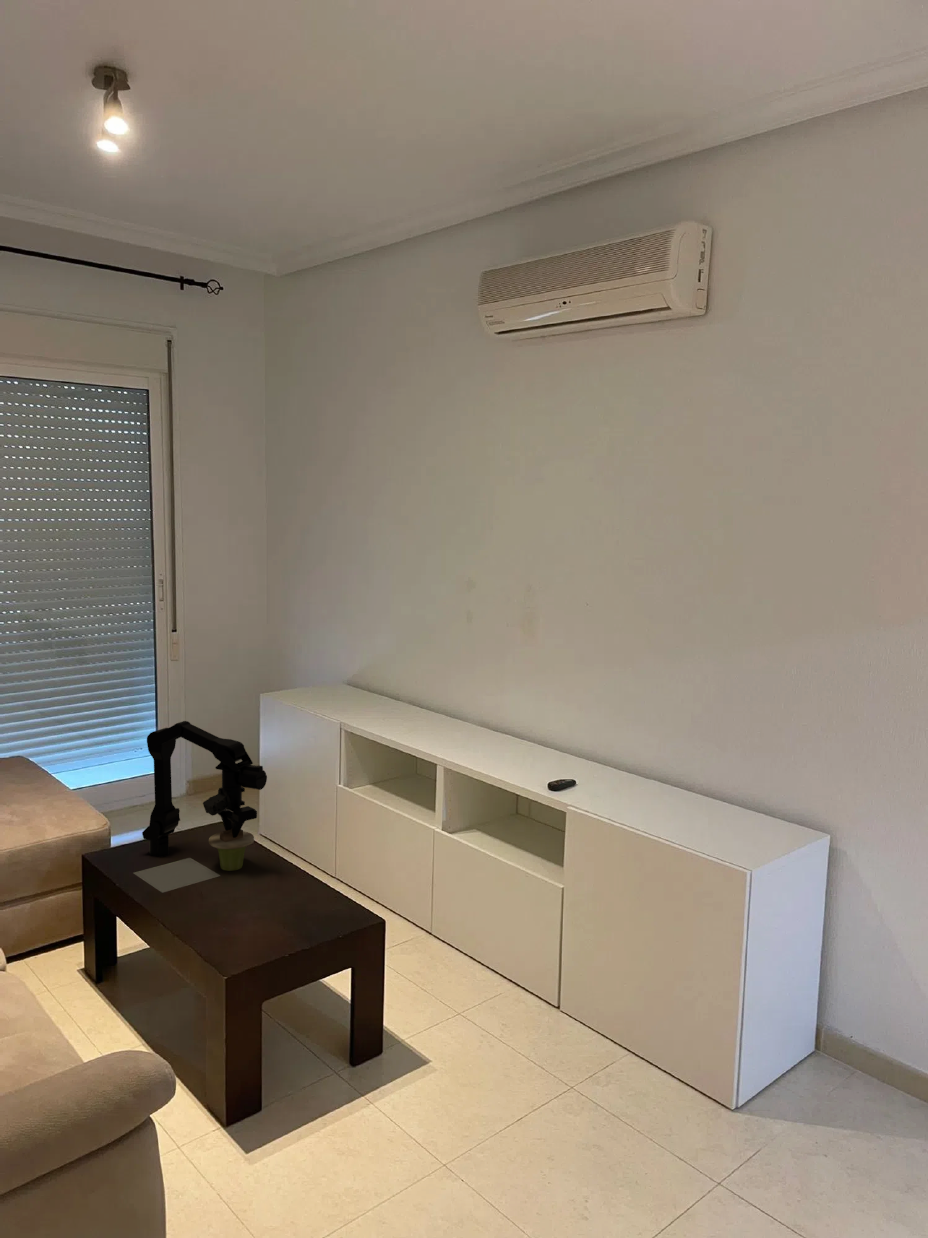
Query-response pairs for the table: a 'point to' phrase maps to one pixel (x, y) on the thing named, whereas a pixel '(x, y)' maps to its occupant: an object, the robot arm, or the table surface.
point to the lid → (231, 840)
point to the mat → (176, 874)
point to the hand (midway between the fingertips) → (231, 835)
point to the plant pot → (231, 858)
